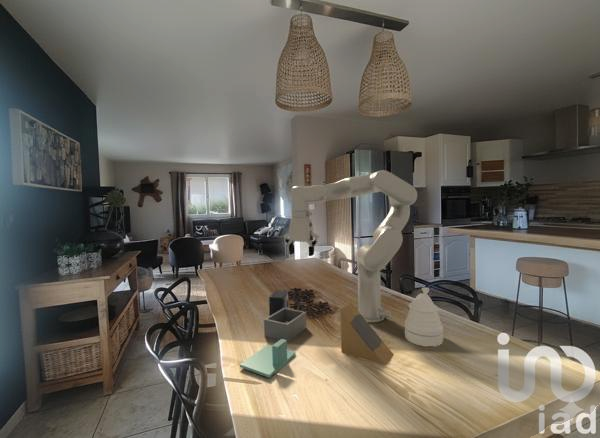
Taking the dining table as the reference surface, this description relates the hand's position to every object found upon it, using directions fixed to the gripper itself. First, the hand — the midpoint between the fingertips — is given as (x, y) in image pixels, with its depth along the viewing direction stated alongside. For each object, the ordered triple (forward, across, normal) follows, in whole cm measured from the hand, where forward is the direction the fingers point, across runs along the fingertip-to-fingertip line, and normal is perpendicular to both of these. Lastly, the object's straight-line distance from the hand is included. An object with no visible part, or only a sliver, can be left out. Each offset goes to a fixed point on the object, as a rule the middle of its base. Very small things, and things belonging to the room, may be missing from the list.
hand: (301, 254), depth 123 cm
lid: (+29, -8, +35) cm, 46 cm away
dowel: (+28, -1, +12) cm, 30 cm away
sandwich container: (+29, -33, +15) cm, 46 cm away
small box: (+29, +11, +2) cm, 31 cm away
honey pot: (+29, -48, -5) cm, 56 cm away
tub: (+28, -1, +15) cm, 32 cm away
